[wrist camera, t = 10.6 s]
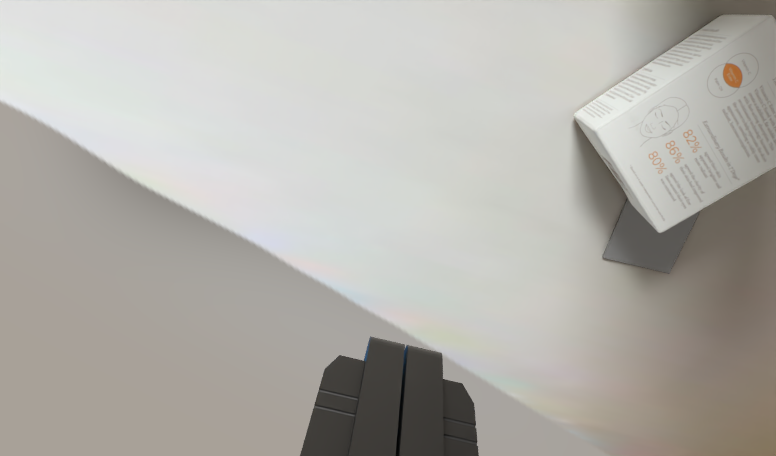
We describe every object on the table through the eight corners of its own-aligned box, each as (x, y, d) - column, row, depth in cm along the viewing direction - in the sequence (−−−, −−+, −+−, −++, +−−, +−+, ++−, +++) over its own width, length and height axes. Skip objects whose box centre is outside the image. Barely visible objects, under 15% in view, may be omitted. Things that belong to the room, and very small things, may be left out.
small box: (629, 206, 40) (779, 118, 37) (659, 236, 34) (837, 136, 32) (570, 112, 38) (724, 10, 35) (592, 129, 32) (775, 11, 30)
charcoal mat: (665, 110, 37) (666, 111, 37) (738, 128, 37) (740, 129, 37) (602, 256, 42) (603, 257, 42) (668, 272, 42) (669, 273, 42)
